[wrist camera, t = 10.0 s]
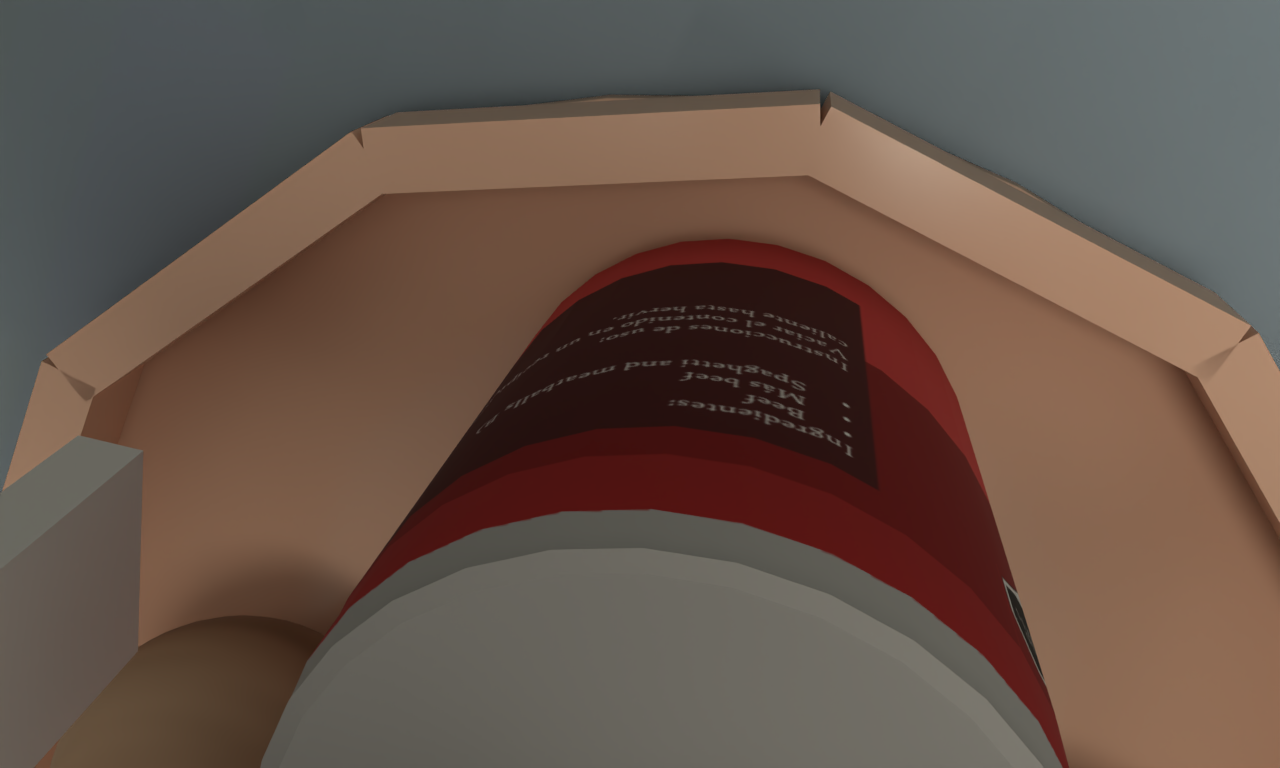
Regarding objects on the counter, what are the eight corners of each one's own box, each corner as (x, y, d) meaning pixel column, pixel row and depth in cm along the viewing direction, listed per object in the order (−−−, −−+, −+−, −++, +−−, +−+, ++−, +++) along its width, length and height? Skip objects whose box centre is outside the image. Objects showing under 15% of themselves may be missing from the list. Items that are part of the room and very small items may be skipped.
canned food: (762, 718, 23) (716, 1355, 13) (428, 452, 22) (87, 911, 12) (1069, 444, 20) (1328, 974, 10) (705, 125, 19) (576, 352, 9)
